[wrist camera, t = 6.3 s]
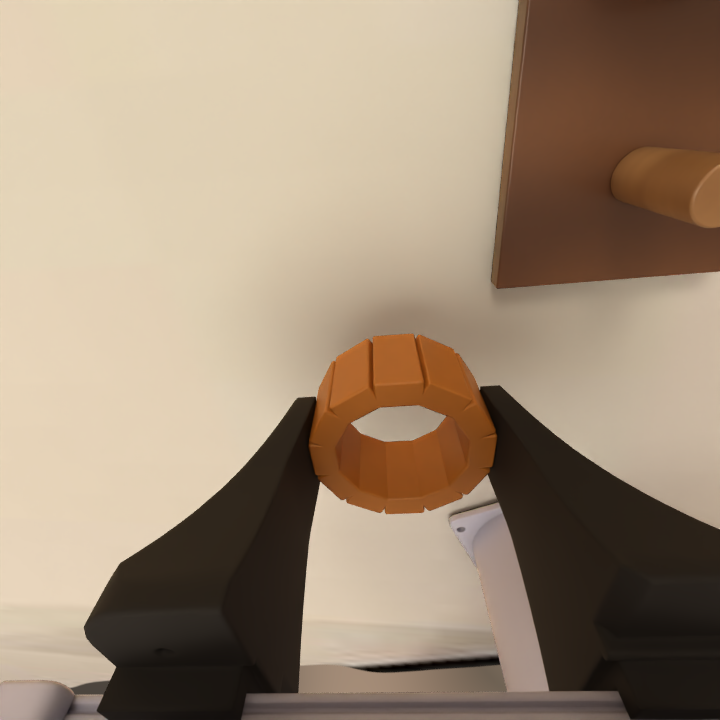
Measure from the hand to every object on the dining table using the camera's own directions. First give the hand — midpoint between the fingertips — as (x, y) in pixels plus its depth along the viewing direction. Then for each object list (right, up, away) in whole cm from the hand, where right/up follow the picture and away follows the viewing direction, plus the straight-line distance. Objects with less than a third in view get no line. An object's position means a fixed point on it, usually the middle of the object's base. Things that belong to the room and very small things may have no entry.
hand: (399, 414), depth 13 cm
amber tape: (0, 0, +1) cm, 1 cm away
